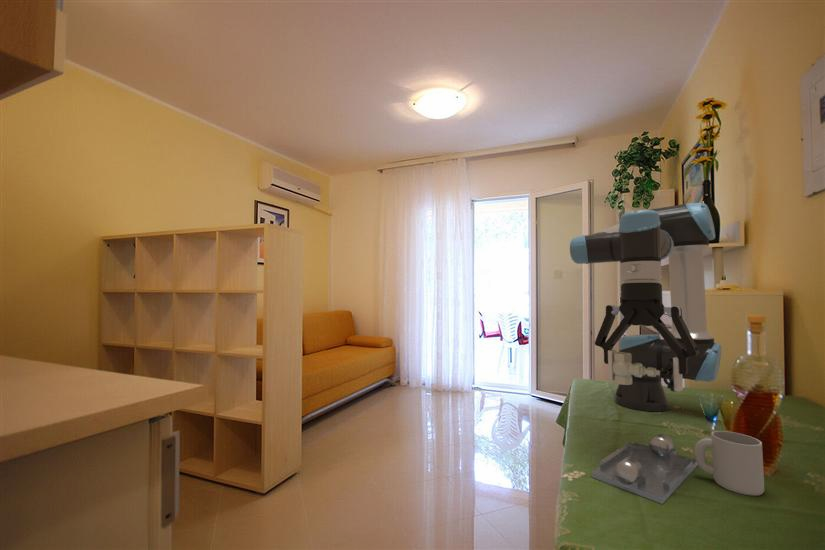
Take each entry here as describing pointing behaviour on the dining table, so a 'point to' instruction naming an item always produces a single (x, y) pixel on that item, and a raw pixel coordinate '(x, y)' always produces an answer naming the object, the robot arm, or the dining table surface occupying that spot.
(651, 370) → the valve
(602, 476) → the tray
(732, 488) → the cup
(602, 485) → the dining table surface
